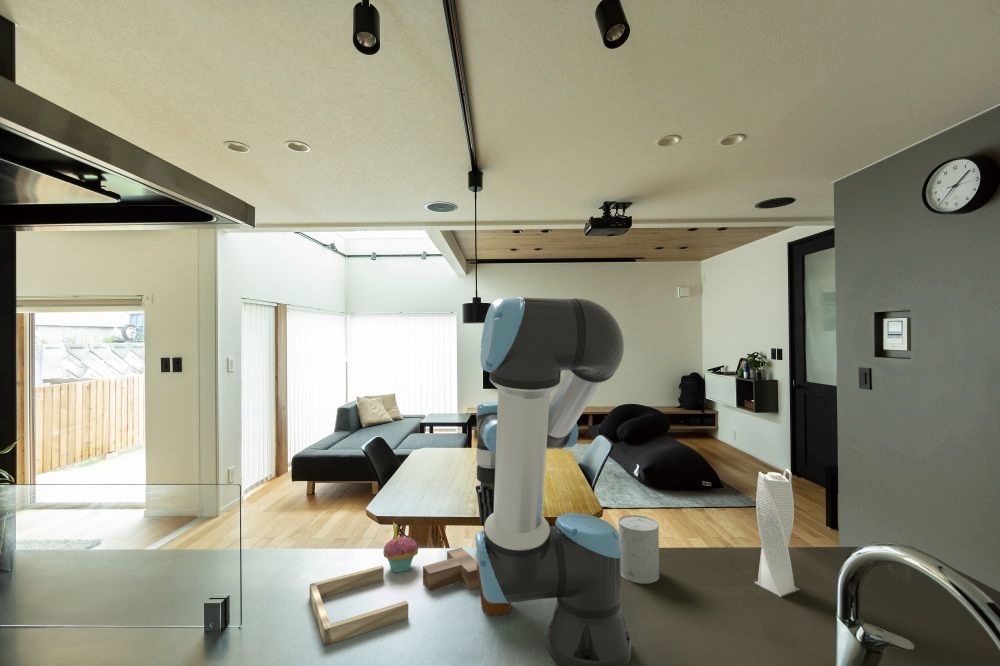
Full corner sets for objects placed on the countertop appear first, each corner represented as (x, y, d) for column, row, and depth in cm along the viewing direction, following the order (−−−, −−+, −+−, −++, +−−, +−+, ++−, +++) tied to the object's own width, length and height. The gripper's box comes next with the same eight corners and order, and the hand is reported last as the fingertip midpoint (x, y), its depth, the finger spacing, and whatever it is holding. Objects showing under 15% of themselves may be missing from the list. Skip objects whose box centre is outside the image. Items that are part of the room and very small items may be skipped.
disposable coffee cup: (519, 595, 100) (519, 541, 101) (517, 621, 91) (517, 561, 91) (477, 593, 101) (477, 539, 101) (470, 618, 92) (470, 559, 92)
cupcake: (392, 579, 107) (392, 529, 107) (377, 566, 113) (377, 518, 114) (424, 568, 112) (424, 520, 113) (407, 556, 119) (408, 510, 119)
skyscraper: (806, 594, 101) (804, 469, 102) (783, 603, 98) (781, 473, 98) (770, 576, 109) (768, 460, 109) (748, 584, 105) (746, 464, 106)
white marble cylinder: (610, 568, 112) (610, 518, 112) (640, 560, 116) (639, 512, 117) (637, 587, 104) (636, 533, 104) (668, 578, 108) (667, 526, 108)
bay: (408, 618, 92) (408, 603, 92) (324, 645, 84) (324, 629, 84) (382, 578, 108) (382, 565, 108) (309, 597, 99) (309, 584, 99)
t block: (484, 584, 105) (484, 567, 105) (436, 600, 99) (436, 581, 99) (461, 563, 115) (461, 547, 115) (416, 575, 109) (416, 559, 109)
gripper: (518, 468, 110) (518, 565, 109) (491, 456, 121) (491, 544, 121) (491, 472, 106) (491, 573, 105) (466, 460, 117) (466, 551, 117)
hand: (491, 557), depth 113 cm, fingers closed
